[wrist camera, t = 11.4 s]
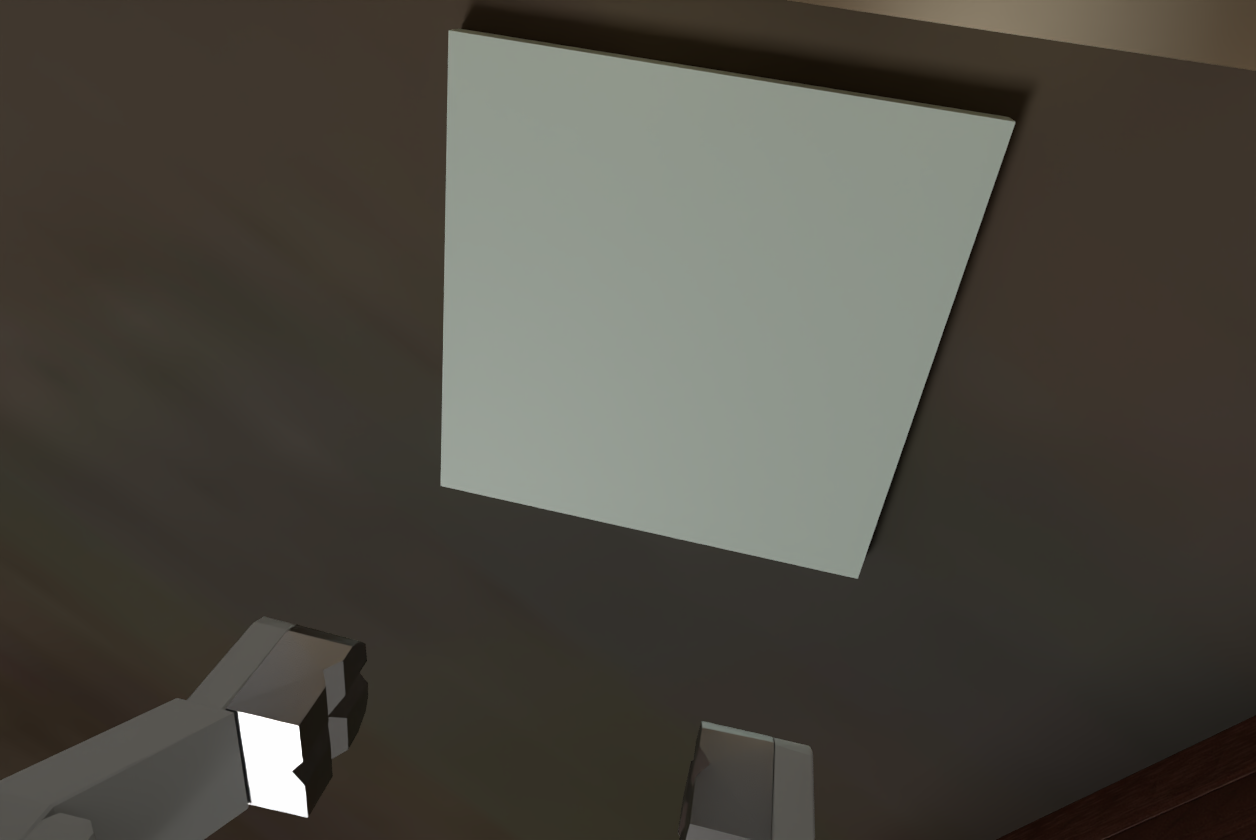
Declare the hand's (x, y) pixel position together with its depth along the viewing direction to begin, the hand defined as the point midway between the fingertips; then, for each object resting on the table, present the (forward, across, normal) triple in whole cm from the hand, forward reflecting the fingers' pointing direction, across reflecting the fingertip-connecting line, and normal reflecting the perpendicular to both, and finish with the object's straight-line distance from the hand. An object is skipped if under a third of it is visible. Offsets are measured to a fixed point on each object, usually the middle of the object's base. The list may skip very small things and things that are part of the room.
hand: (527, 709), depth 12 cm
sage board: (+15, 0, 0) cm, 15 cm away
